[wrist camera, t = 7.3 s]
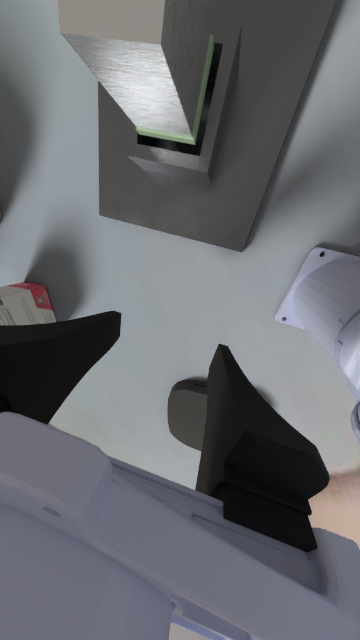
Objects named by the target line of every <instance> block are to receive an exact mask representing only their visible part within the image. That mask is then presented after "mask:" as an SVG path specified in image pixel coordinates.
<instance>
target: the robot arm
mask: <svg viewBox="0 0 360 640" xmlns="http://www.w3.org/2000/svg"><path fill="white" fill-rule="evenodd" d="M321 252H324V255H323V256H322V257H320V253H321ZM283 317H286V319H285V320H282V318H283ZM274 318H275V320H276V321H278V322H281V323H284V324H288V325H291V326H294V327H298V328H301V329H304V330H307V331H308V332H309V333H310V334H311V336H312V337H313V338H314V339H315V340H316V341H317V342H318V344H319V345H320V346H321V347H322V348H323V349H324V351H325V352H326V353H327V354H328V355H329V356H330V357H331V359H332V360H333V361H334V362H335V363H336V364H337V365H338V367H339V368H340V369H341V370H342V371H343V372H344V374H345V375H346V378H347V383H346V387H347V389H348V390H349V391H350V392H351V394H352V395H353V396H354V397H355V399H356V400H357V401H358V402H359V403H357V404H356V406H355V407H354V409H353V411H352V413H351V426H352V429H353V432H354V434H355V436H356V438H357V440H358V442H359V443H360V257H358V256H354V255H350V254H346V253H342V252H338V251H334V250H330V249H325V248H321V247H315V248H313V249H312V250H311V251H310V253H309V254H308V256H307V258H306V260H305V262H304V263H303V265H302V267H301V269H300V271H299V272H298V274H297V276H296V278H295V280H294V281H293V283H292V285H291V287H290V289H289V290H288V292H287V294H286V296H285V298H284V299H283V301H282V303H281V305H280V307H279V308H278V310H277V312H276V314H275V316H274ZM120 326H121V313H119V312H116V311H109V312H104V313H100V314H95V315H91V316H87V317H82V318H78V319H73V320H68V321H61V322H54V323H45V324H32V325H0V640H168V638H169V630H170V623H173V624H176V625H178V626H180V627H183V628H185V629H187V630H190V631H192V632H194V633H196V634H199V635H201V636H203V637H206V638H208V639H210V640H360V550H359V547H358V545H357V543H355V542H354V541H353V540H350V539H348V538H345V537H343V536H340V535H338V534H335V533H332V532H330V531H327V530H325V529H321V528H312V527H311V525H310V521H309V518H308V515H311V514H312V511H311V508H310V505H309V502H308V499H310V498H311V497H313V496H314V495H316V494H318V493H319V492H321V491H322V490H323V489H324V488H325V487H327V485H328V483H329V480H330V478H329V473H328V471H327V469H326V467H325V465H324V462H323V460H322V458H321V456H320V454H319V452H318V450H317V448H316V446H315V445H314V444H313V443H311V442H310V441H309V440H308V439H306V438H305V437H304V436H303V435H302V434H300V433H299V432H298V431H297V430H296V429H294V428H293V427H292V426H291V425H290V424H289V423H288V422H287V421H285V420H284V419H283V418H282V417H281V416H280V415H279V414H278V413H277V412H276V411H275V410H274V409H273V408H272V407H271V406H270V405H269V404H268V403H267V402H266V401H265V400H264V399H263V397H262V396H261V395H260V394H259V393H258V392H257V390H256V389H255V388H254V387H253V386H252V384H251V383H250V382H249V380H248V379H247V377H246V376H245V375H244V373H243V372H242V370H241V369H240V367H239V365H238V364H237V362H236V360H235V358H234V357H233V355H232V353H231V351H230V349H229V348H228V346H225V345H222V344H219V345H218V347H217V350H216V352H215V354H214V357H213V359H212V362H211V364H210V368H209V374H208V387H207V415H206V423H205V431H204V438H203V445H202V452H201V459H200V465H199V471H198V477H197V483H196V489H195V490H193V489H190V488H188V487H185V486H183V485H180V484H178V483H175V482H173V481H170V480H168V479H165V478H163V477H160V476H158V475H155V474H153V473H150V472H148V471H145V470H143V469H140V468H138V467H135V466H132V465H130V464H127V463H125V462H122V461H120V460H117V459H115V458H112V457H110V456H107V455H106V454H105V453H104V452H103V451H102V450H101V449H100V448H99V447H97V446H95V445H93V444H91V443H90V442H88V441H86V440H84V439H81V438H79V437H76V436H74V435H71V434H69V433H66V432H64V431H61V430H59V429H56V428H53V427H51V426H48V425H47V424H48V423H49V422H50V420H51V419H52V417H53V416H54V414H55V413H56V411H57V410H58V409H59V407H60V406H61V405H62V403H63V402H64V400H65V399H66V398H67V396H68V395H69V394H70V393H71V391H72V390H73V389H74V387H75V386H76V385H77V384H78V382H79V381H80V380H81V379H82V378H83V376H84V375H85V374H86V373H87V372H88V371H89V370H90V368H91V367H92V366H93V365H94V364H95V363H97V362H98V361H99V360H100V359H101V358H102V357H103V356H104V355H105V354H106V353H107V352H108V351H109V350H110V348H111V347H112V346H113V345H114V344H115V342H116V341H117V340H118V338H119V337H120Z"/></svg>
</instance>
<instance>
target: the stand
mask: <svg viewBox="0 0 360 640" xmlns="http://www.w3.org/2000/svg"><path fill="white" fill-rule="evenodd" d="M335 3H336V0H208V8H209V20H210V33H211V35H213V39H214V49H213V55H212V60H211V65H210V70H209V75H208V81H207V86H206V91H205V96H204V101H203V107H202V112H201V117H200V122H199V127H198V133H197V138H196V143H195V145H193V144H188V143H183V142H177V141H172V140H167V139H161V138H156V137H151V136H146V135H140V134H139V133H138V132H137V131H136V126H135V125H134V123H133V122H132V121H131V120H130V118H129V117H128V116H127V115H126V113H125V112H124V111H123V110H122V109H121V107H120V106H119V105H118V104H117V102H116V101H115V100H114V99H113V97H112V96H111V95H110V94H109V92H108V91H107V90H106V89H105V88H104V86H103V85H102V84H101V83H100V81H99V80H98V108H99V215H101V216H104V217H108V218H112V219H116V220H120V221H124V222H128V223H131V224H135V225H139V226H143V227H147V228H151V229H155V230H158V231H162V232H166V233H170V234H174V235H178V236H182V237H185V238H189V239H193V240H197V241H201V242H205V243H209V244H212V245H216V246H220V247H224V248H228V249H232V250H236V251H239V252H242V251H243V249H244V246H245V243H246V241H247V238H248V235H249V233H250V230H251V227H252V225H253V222H254V219H255V217H256V214H257V211H258V209H259V206H260V203H261V201H262V198H263V195H264V193H265V190H266V187H267V185H268V182H269V179H270V176H271V174H272V171H273V168H274V166H275V163H276V160H277V158H278V155H279V152H280V150H281V147H282V144H283V142H284V139H285V136H286V134H287V131H288V128H289V126H290V123H291V120H292V118H293V115H294V112H295V110H296V107H297V104H298V102H299V99H300V96H301V94H302V91H303V88H304V86H305V83H306V80H307V78H308V75H309V72H310V69H311V67H312V64H313V61H314V59H315V56H316V53H317V51H318V48H319V45H320V43H321V40H322V37H323V35H324V32H325V29H326V27H327V24H328V21H329V19H330V16H331V13H332V11H333V8H334V5H335Z"/></svg>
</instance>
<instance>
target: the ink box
mask: <svg viewBox="0 0 360 640" xmlns="http://www.w3.org/2000/svg"><path fill="white" fill-rule="evenodd" d="M54 322H56V318H55V315H54V312H53V309H52V306H51V303H50V300H49V297H48V293H47V290H46V287H45V286H44V285H39V284H34V283H18V284H13V285H8V286H4V287H0V325H32V324H45V323H54Z"/></svg>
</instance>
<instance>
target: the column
mask: <svg viewBox="0 0 360 640" xmlns="http://www.w3.org/2000/svg"><path fill="white" fill-rule="evenodd" d="M58 7H59V21H60V33H61V34H62V36H63V37H64V38H65V39H66V41H67V42H68V43H69V44H70V45H71V47H72V48H73V49H74V50H75V52H76V53H77V54H78V55H79V57H80V58H81V59H82V60H83V62H84V63H85V64H86V65H87V66H88V68H89V69H90V70H91V71H92V73H93V74H94V75H95V76H96V78H97V79H98V80H99V81H100V83H101V84H102V85H103V86H104V88H105V89H106V90H107V91H108V92H109V94H110V95H111V96H112V97H113V99H114V100H115V101H116V102H117V104H118V105H119V106H120V107H121V109H122V110H123V111H124V112H125V113H126V115H127V116H128V117H129V118H130V120H131V121H132V122H133V123H134V125H135V126H136V131H137V132H138V133H139V134H140V135H146V136H151V137H156V138H161V139H167V140H172V141H177V142H183V143H188V144H193V145H195V143H196V138H197V133H198V127H199V122H200V117H201V112H202V107H203V101H204V96H205V91H206V86H207V81H208V75H209V70H210V65H211V60H212V55H213V49H214V39H213V35H211V33H210V20H209V8H208V0H58Z"/></svg>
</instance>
